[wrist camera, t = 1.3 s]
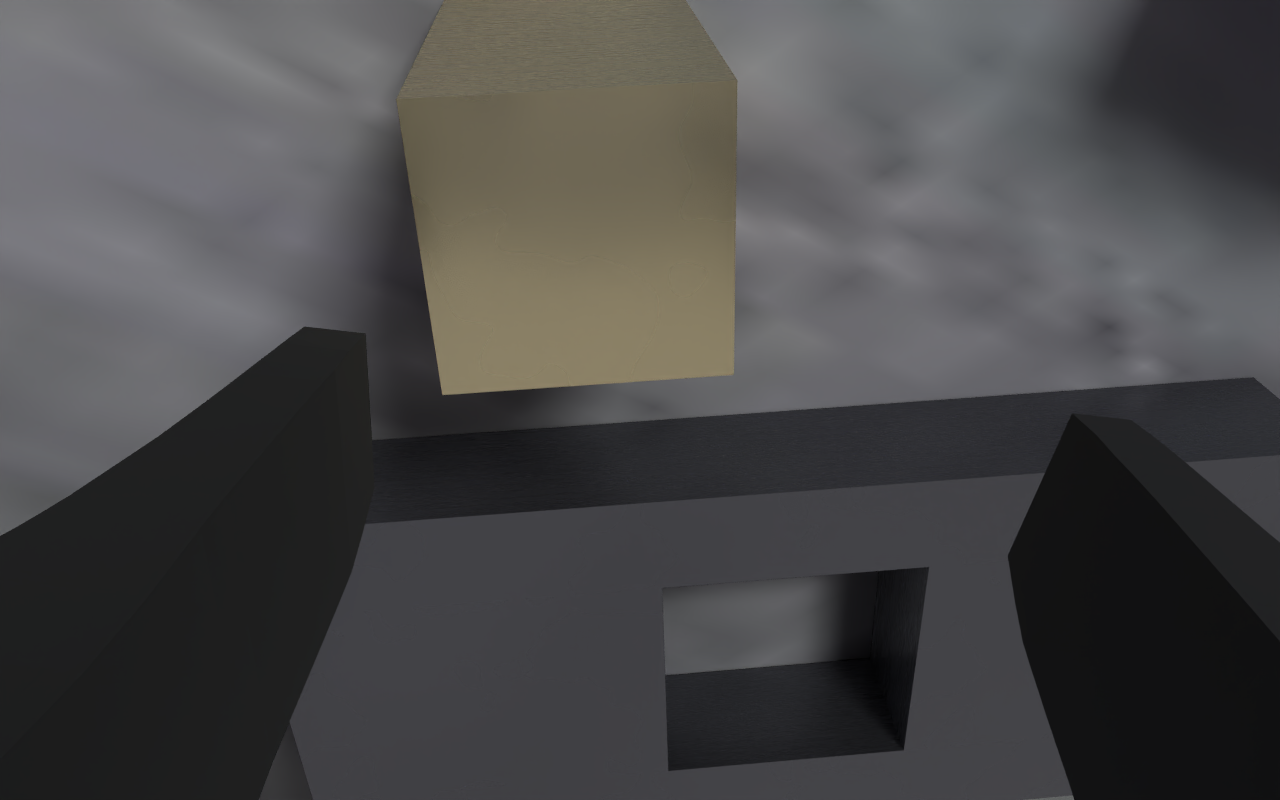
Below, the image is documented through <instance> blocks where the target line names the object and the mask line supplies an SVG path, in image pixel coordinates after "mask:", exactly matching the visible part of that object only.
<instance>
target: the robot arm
mask: <svg viewBox="0 0 1280 800" xmlns="http://www.w3.org/2000/svg"><path fill="white" fill-rule="evenodd" d="M374 488H375V485H374V468H373V451H372V434H371V418H370V401H369V384H368V367H367V350H366V334H365V333H356V332H347V331H338V330H329V329H320V328H311V327H304V328H302V329H301V330H299V331H298V332H297V333H295V334H294V335H292V336H291V337H290V338H288V339H287V340H286V341H284V342H283V343H282V344H281V345H279V346H278V347H277V348H275V349H274V350H273V351H271V352H270V353H269V354H268V355H266V356H265V357H264V358H262V359H261V360H260V361H258V362H257V363H256V364H254V365H253V366H252V367H251V368H249V369H248V370H247V371H245V372H244V373H243V374H241V375H240V376H239V377H238V378H236V379H235V380H234V381H232V382H231V383H230V384H228V385H227V386H226V387H224V388H223V389H222V390H221V391H219V392H218V393H217V394H215V395H214V396H213V397H211V398H210V399H209V400H207V401H206V402H205V403H203V404H202V405H201V406H199V407H198V408H197V409H195V410H194V411H192V412H191V413H190V414H188V415H187V416H186V417H184V418H183V419H182V420H180V421H179V422H177V423H176V424H175V425H173V426H172V427H171V428H169V429H168V430H167V431H165V432H164V433H162V434H161V435H160V436H158V437H157V438H155V439H154V440H152V441H151V442H149V443H148V444H146V445H145V446H143V447H142V448H140V449H139V450H137V451H136V452H134V453H133V454H131V455H130V456H128V457H127V458H125V459H124V460H122V461H121V462H119V463H118V464H116V465H115V466H113V467H112V468H110V469H109V470H107V471H106V472H104V473H103V474H101V475H100V476H98V477H97V478H95V479H94V480H92V481H91V482H89V483H88V484H86V485H85V486H83V487H82V488H80V489H79V490H77V491H76V492H74V493H73V494H71V495H70V496H68V497H66V498H65V499H63V500H61V501H60V502H58V503H57V504H55V505H53V506H52V507H50V508H48V509H47V510H45V511H43V512H42V513H40V514H38V515H36V516H35V517H33V518H31V519H30V520H28V521H26V522H25V523H23V524H21V525H19V526H18V527H16V528H14V529H12V530H11V531H9V532H7V533H5V534H3V535H1V536H0V800H259V797H260V794H261V792H262V789H263V786H264V784H265V781H266V778H267V775H268V773H269V770H270V767H271V765H272V762H273V760H274V757H275V755H276V752H277V750H278V748H279V745H280V743H281V741H282V738H283V736H284V733H285V731H286V729H287V726H288V724H289V722H290V719H291V717H292V714H293V712H294V710H295V707H296V705H297V703H298V700H299V698H300V695H301V693H302V691H303V688H304V686H305V684H306V681H307V679H308V676H309V674H310V672H311V669H312V667H313V665H314V662H315V660H316V657H317V655H318V653H319V650H320V648H321V646H322V643H323V641H324V638H325V636H326V634H327V631H328V629H329V626H330V624H331V621H332V619H333V617H334V614H335V612H336V609H337V607H338V605H339V602H340V600H341V597H342V595H343V592H344V590H345V587H346V585H347V582H348V580H349V577H350V575H351V573H352V569H353V566H354V562H355V559H356V555H357V552H358V548H359V544H360V541H361V537H362V534H363V530H364V526H365V522H366V519H367V515H368V511H369V507H370V503H371V499H372V496H373V492H374ZM1008 561H1009V568H1010V574H1011V580H1012V587H1013V593H1014V599H1015V605H1016V610H1017V615H1018V620H1019V625H1020V631H1021V636H1022V641H1023V645H1024V648H1025V651H1026V654H1027V658H1028V661H1029V664H1030V667H1031V670H1032V673H1033V676H1034V680H1035V683H1036V686H1037V689H1038V692H1039V695H1040V698H1041V701H1042V704H1043V707H1044V710H1045V713H1046V716H1047V719H1048V722H1049V725H1050V728H1051V731H1052V734H1053V737H1054V740H1055V743H1056V746H1057V749H1058V752H1059V755H1060V758H1061V761H1062V764H1063V767H1064V770H1065V773H1066V776H1067V779H1068V782H1069V785H1070V788H1071V791H1072V794H1073V797H1074V800H1280V542H1279V541H1278V540H1276V539H1275V538H1274V537H1273V536H1272V535H1270V534H1269V533H1268V532H1267V531H1266V530H1264V529H1263V528H1262V527H1261V526H1260V525H1259V524H1257V523H1256V522H1255V521H1254V520H1253V519H1252V518H1250V517H1249V516H1248V515H1247V514H1246V513H1244V512H1243V511H1242V510H1241V509H1240V508H1239V507H1237V506H1236V505H1235V504H1234V503H1233V502H1232V501H1230V500H1229V499H1228V498H1227V497H1226V496H1225V495H1223V494H1222V493H1221V492H1220V491H1219V490H1218V489H1216V488H1215V487H1214V486H1213V485H1212V484H1211V483H1209V482H1208V481H1207V480H1206V479H1205V478H1203V477H1202V476H1201V475H1200V474H1199V473H1198V472H1196V471H1195V470H1194V469H1193V468H1192V467H1190V466H1189V465H1188V464H1187V463H1186V462H1184V461H1183V460H1182V459H1181V458H1180V457H1178V456H1177V455H1176V454H1175V453H1174V452H1172V451H1171V450H1170V449H1169V448H1167V447H1166V446H1165V445H1164V444H1163V443H1161V442H1160V441H1159V440H1157V439H1156V438H1155V437H1154V436H1152V435H1151V434H1150V433H1148V432H1147V431H1146V430H1144V429H1143V428H1141V427H1140V426H1139V425H1137V424H1136V423H1135V422H1133V421H1132V420H1128V419H1119V418H1110V417H1101V416H1093V415H1084V414H1075V413H1072V414H1071V417H1070V419H1069V421H1068V423H1067V425H1066V428H1065V430H1064V432H1063V434H1062V437H1061V439H1060V441H1059V443H1058V445H1057V448H1056V450H1055V452H1054V454H1053V456H1052V459H1051V461H1050V463H1049V465H1048V467H1047V470H1046V472H1045V474H1044V476H1043V478H1042V481H1041V483H1040V485H1039V487H1038V490H1037V492H1036V494H1035V496H1034V498H1033V501H1032V503H1031V505H1030V507H1029V509H1028V512H1027V514H1026V516H1025V518H1024V520H1023V523H1022V525H1021V527H1020V529H1019V531H1018V534H1017V536H1016V538H1015V540H1014V543H1013V545H1012V547H1011V549H1010V551H1009V554H1008Z"/></svg>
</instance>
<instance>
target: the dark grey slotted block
mask: <svg viewBox="0 0 1280 800" xmlns="http://www.w3.org/2000/svg"><path fill="white" fill-rule="evenodd" d="M1072 413H1075V414H1084V415H1093V416H1101V417H1110V418H1119V419H1128V420H1132V421H1133V422H1135V423H1136V424H1137V425H1139V426H1140V427H1141V428H1143V429H1144V430H1146V431H1147V432H1148V433H1150V434H1151V435H1152V436H1154V437H1155V438H1156V439H1157V440H1159V441H1160V442H1161V443H1163V444H1164V445H1165V446H1166V447H1167V448H1169V449H1170V450H1171V451H1172V452H1174V453H1175V454H1176V455H1177V456H1178V457H1180V458H1181V459H1182V460H1183V461H1184V462H1186V463H1187V464H1188V465H1189V466H1190V467H1192V468H1193V469H1194V470H1195V471H1196V472H1198V473H1199V474H1200V475H1201V476H1202V477H1203V478H1205V479H1206V480H1207V481H1208V482H1209V483H1211V484H1212V485H1213V486H1214V487H1215V488H1216V489H1218V490H1219V491H1220V492H1221V493H1222V494H1223V495H1225V496H1226V497H1227V498H1228V499H1229V500H1230V501H1232V502H1233V503H1234V504H1235V505H1236V506H1237V507H1239V508H1240V509H1241V510H1242V511H1243V512H1244V513H1246V514H1247V515H1248V516H1249V517H1250V518H1252V519H1253V520H1254V521H1255V522H1256V523H1257V524H1259V525H1260V526H1261V527H1262V528H1263V529H1264V530H1266V531H1267V532H1268V533H1269V534H1270V535H1272V536H1273V537H1274V538H1275V539H1276V540H1278V541H1279V542H1280V399H1279V398H1277V397H1276V396H1275V395H1274V394H1273V393H1271V392H1270V391H1269V390H1268V389H1267V388H1265V387H1264V386H1263V385H1262V384H1261V383H1259V382H1258V381H1257V380H1256V379H1255V378H1240V379H1227V380H1213V381H1199V382H1185V383H1171V384H1157V385H1143V386H1129V387H1115V388H1101V389H1087V390H1073V391H1059V392H1045V393H1031V394H1017V395H1003V396H989V397H975V398H961V399H948V400H934V401H920V402H906V403H892V404H878V405H864V406H850V407H836V408H822V409H808V410H794V411H780V412H766V413H752V414H738V415H724V416H710V417H696V418H683V419H669V420H655V421H641V422H627V423H613V424H599V425H585V426H571V427H557V428H543V429H529V430H515V431H501V432H487V433H473V434H459V435H445V436H431V437H418V438H404V439H390V440H376V441H372V451H373V468H374V485H375V488H374V492H373V496H372V499H371V503H370V507H369V511H368V515H367V519H366V522H365V526H364V530H363V534H362V537H361V541H360V544H359V548H358V552H357V555H356V559H355V562H354V566H353V569H352V573H351V575H350V577H349V580H348V582H347V585H346V587H345V590H344V592H343V595H342V597H341V600H340V602H339V605H338V607H337V609H336V612H335V614H334V617H333V619H332V621H331V624H330V626H329V629H328V631H327V634H326V636H325V638H324V641H323V643H322V646H321V648H320V650H319V653H318V655H317V657H316V660H315V662H314V665H313V667H312V669H311V672H310V674H309V676H308V679H307V681H306V684H305V686H304V688H303V691H302V693H301V695H300V698H299V700H298V703H297V705H296V707H295V710H294V712H293V714H292V717H291V719H290V725H291V728H292V732H293V735H294V738H295V742H296V745H297V748H298V752H299V755H300V758H301V762H302V765H303V768H304V772H305V775H306V778H307V782H308V785H309V788H310V792H311V795H312V798H313V800H1024V799H1035V798H1046V797H1057V796H1068V795H1073V794H1072V791H1071V788H1070V785H1069V782H1068V779H1067V776H1066V773H1065V770H1064V767H1063V764H1062V761H1061V758H1060V755H1059V752H1058V749H1057V746H1056V743H1055V740H1054V737H1053V734H1052V731H1051V728H1050V725H1049V722H1048V719H1047V716H1046V713H1045V710H1044V707H1043V704H1042V701H1041V698H1040V695H1039V692H1038V689H1037V686H1036V683H1035V680H1034V676H1033V673H1032V670H1031V667H1030V664H1029V661H1028V658H1027V654H1026V651H1025V648H1024V645H1023V641H1022V636H1021V631H1020V625H1019V620H1018V615H1017V610H1016V605H1015V599H1014V593H1013V587H1012V580H1011V574H1010V568H1009V561H1008V554H1009V551H1010V549H1011V547H1012V545H1013V543H1014V540H1015V538H1016V536H1017V534H1018V531H1019V529H1020V527H1021V525H1022V523H1023V520H1024V518H1025V516H1026V514H1027V512H1028V509H1029V507H1030V505H1031V503H1032V501H1033V498H1034V496H1035V494H1036V492H1037V490H1038V487H1039V485H1040V483H1041V481H1042V478H1043V476H1044V474H1045V472H1046V470H1047V467H1048V465H1049V463H1050V461H1051V459H1052V456H1053V454H1054V452H1055V450H1056V448H1057V445H1058V443H1059V441H1060V439H1061V437H1062V434H1063V432H1064V430H1065V428H1066V425H1067V423H1068V421H1069V419H1070V417H1071V414H1072ZM871 571H879V578H878V587H877V596H876V606H875V615H874V625H873V634H872V643H871V653H870V659H859V660H847V661H835V662H823V663H811V664H799V665H787V666H775V667H763V668H751V669H739V670H727V671H715V672H703V673H691V674H679V675H668V676H665V658H664V628H663V598H662V588H670V587H682V586H695V585H708V584H720V583H733V582H745V581H758V580H771V579H783V578H796V577H808V576H821V575H834V574H846V573H859V572H871Z"/></svg>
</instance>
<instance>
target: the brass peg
mask: <svg viewBox="0 0 1280 800" xmlns="http://www.w3.org/2000/svg"><path fill="white" fill-rule="evenodd" d="M396 101H397V107H398V114H399V120H400V127H401V133H402V139H403V146H404V152H405V159H406V165H407V172H408V178H409V184H410V191H411V197H412V204H413V210H414V216H415V223H416V229H417V236H418V242H419V248H420V255H421V261H422V268H423V274H424V281H425V287H426V293H427V300H428V306H429V313H430V319H431V325H432V332H433V338H434V345H435V351H436V357H437V364H438V370H439V377H440V383H441V390H442V395H451V394H465V393H480V392H494V391H509V390H523V389H537V388H552V387H566V386H580V385H595V384H609V383H623V382H638V381H652V380H667V379H681V378H695V377H710V376H724V375H734V313H735V228H736V143H737V79H736V77H735V76H734V74H733V73H732V71H731V70H730V68H729V67H728V65H727V64H726V62H725V60H724V59H723V57H722V56H721V54H720V53H719V51H718V50H717V48H716V47H715V45H714V43H713V42H712V40H711V39H710V37H709V36H708V34H707V33H706V31H705V30H704V28H703V26H702V25H701V23H700V22H699V20H698V19H697V17H696V16H695V14H694V12H693V11H692V9H691V8H690V6H689V5H688V3H687V2H686V0H444V2H443V4H442V6H441V8H440V10H439V12H438V14H437V16H436V19H435V21H434V23H433V25H432V27H431V29H430V31H429V33H428V35H427V37H426V39H425V41H424V43H423V45H422V47H421V49H420V51H419V53H418V56H417V58H416V60H415V62H414V64H413V66H412V68H411V70H410V72H409V74H408V76H407V78H406V80H405V82H404V84H403V86H402V88H401V90H400V93H399V95H398V97H397V99H396Z"/></svg>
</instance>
